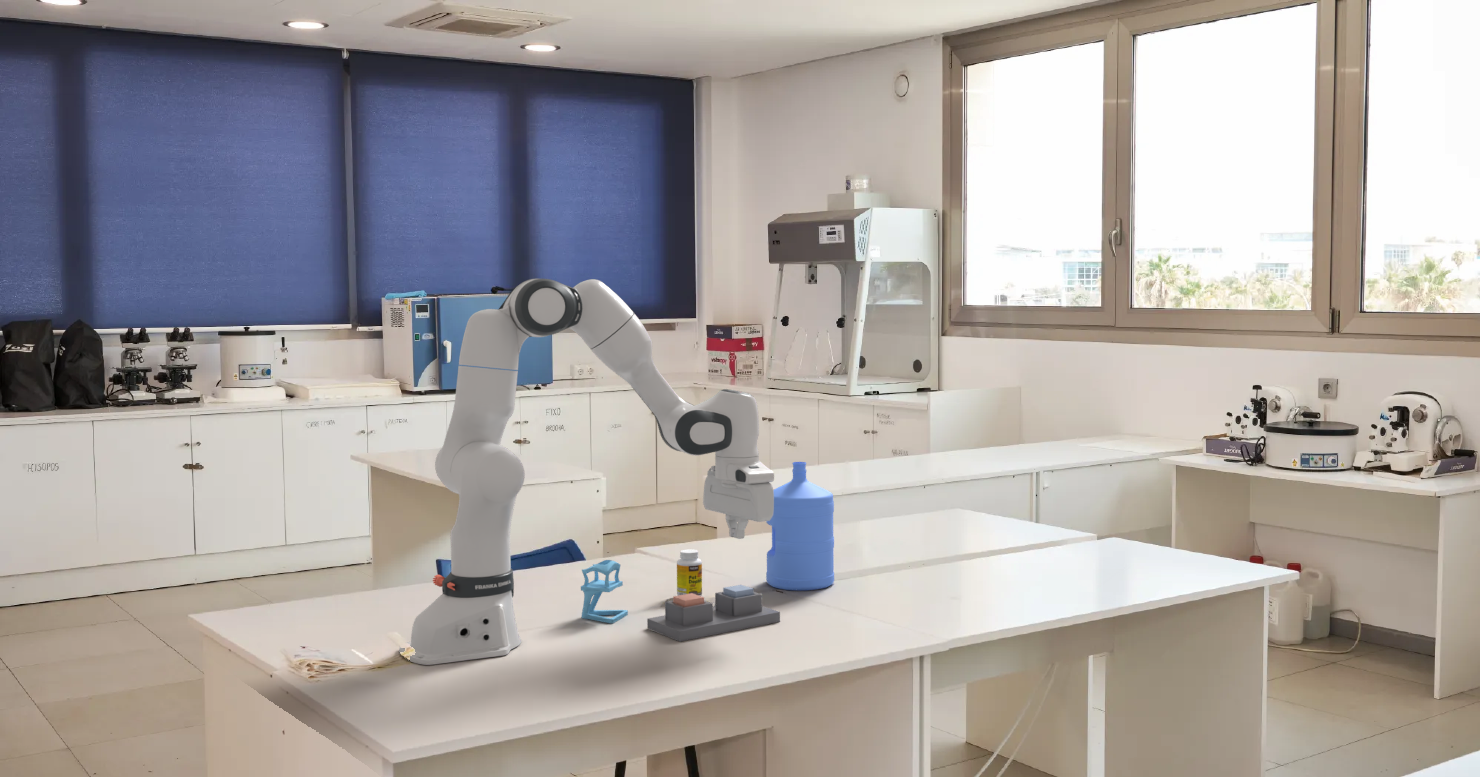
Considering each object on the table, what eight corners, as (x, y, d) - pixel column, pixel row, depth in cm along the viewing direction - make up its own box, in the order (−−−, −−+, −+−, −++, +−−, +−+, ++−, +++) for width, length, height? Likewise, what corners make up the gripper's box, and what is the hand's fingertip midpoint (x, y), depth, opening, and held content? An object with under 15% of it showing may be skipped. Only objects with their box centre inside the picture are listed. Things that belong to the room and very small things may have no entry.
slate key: (735, 606, 244) (735, 591, 244) (723, 602, 248) (723, 587, 248) (753, 603, 247) (753, 588, 247) (741, 598, 250) (740, 584, 250)
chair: (592, 612, 256) (591, 555, 255) (628, 614, 253) (627, 557, 252) (575, 621, 249) (574, 563, 248) (612, 623, 246) (611, 565, 245)
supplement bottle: (688, 601, 264) (687, 554, 263) (671, 596, 268) (671, 551, 267) (707, 596, 268) (707, 550, 267) (690, 592, 272) (690, 547, 271)
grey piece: (679, 641, 232) (679, 613, 232) (647, 628, 242) (647, 601, 242) (780, 621, 246) (779, 594, 246) (745, 609, 256) (745, 584, 255)
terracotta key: (685, 615, 237) (685, 600, 237) (673, 611, 241) (673, 596, 241) (704, 612, 240) (704, 597, 240) (692, 607, 243) (691, 593, 243)
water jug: (846, 580, 282) (845, 460, 280) (813, 594, 269) (812, 468, 267) (787, 573, 290) (786, 456, 288) (753, 586, 277) (752, 464, 275)
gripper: (695, 465, 252) (695, 531, 253) (753, 476, 235) (753, 547, 236) (721, 463, 256) (720, 528, 256) (779, 474, 239) (779, 543, 240)
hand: (736, 537), depth 246 cm, fingers closed
